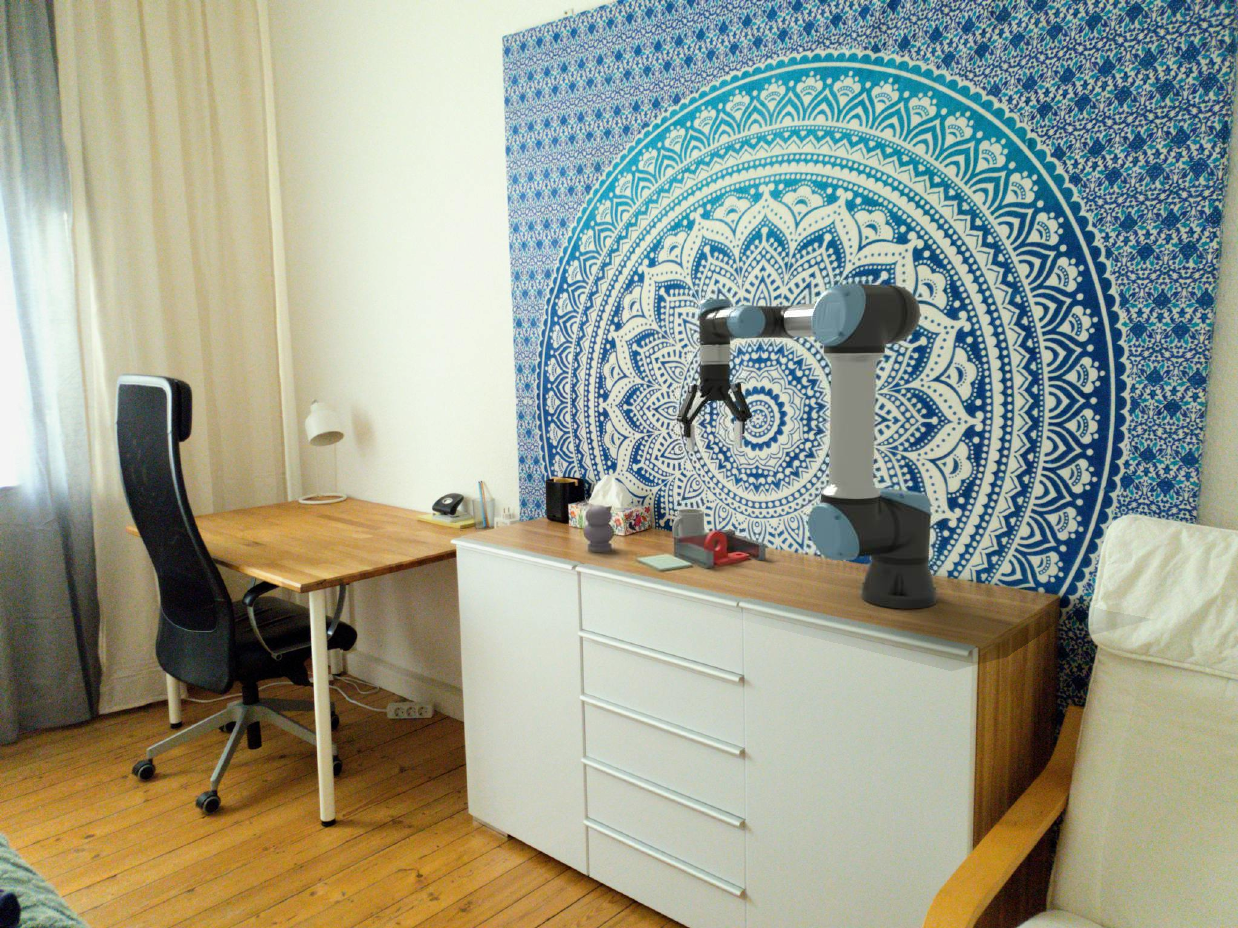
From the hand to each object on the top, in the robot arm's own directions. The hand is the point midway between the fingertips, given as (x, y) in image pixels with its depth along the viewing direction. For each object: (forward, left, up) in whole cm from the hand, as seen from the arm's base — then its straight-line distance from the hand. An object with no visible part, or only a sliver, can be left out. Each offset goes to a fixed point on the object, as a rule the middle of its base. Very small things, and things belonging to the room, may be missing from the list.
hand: (714, 449), depth 218 cm
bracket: (-4, -1, -28) cm, 28 cm away
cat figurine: (+24, +21, -28) cm, 42 cm away
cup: (+17, -2, -28) cm, 33 cm away
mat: (+2, +14, -28) cm, 31 cm away
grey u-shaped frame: (+2, -1, -28) cm, 28 cm away
